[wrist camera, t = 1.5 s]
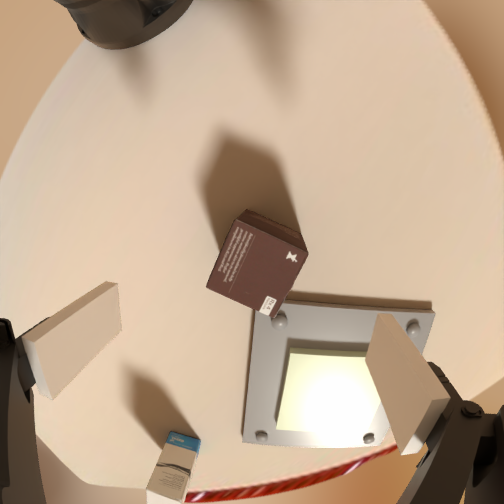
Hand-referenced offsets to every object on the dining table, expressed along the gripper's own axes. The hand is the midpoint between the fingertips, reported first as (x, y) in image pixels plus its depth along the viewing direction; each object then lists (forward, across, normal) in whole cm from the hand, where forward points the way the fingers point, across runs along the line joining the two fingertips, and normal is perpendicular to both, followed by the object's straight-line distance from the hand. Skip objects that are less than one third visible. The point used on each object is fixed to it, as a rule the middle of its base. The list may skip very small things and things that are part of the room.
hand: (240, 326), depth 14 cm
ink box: (+16, -9, -33) cm, 38 cm away
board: (+16, +10, -16) cm, 24 cm away
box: (+16, 0, 0) cm, 16 cm away
